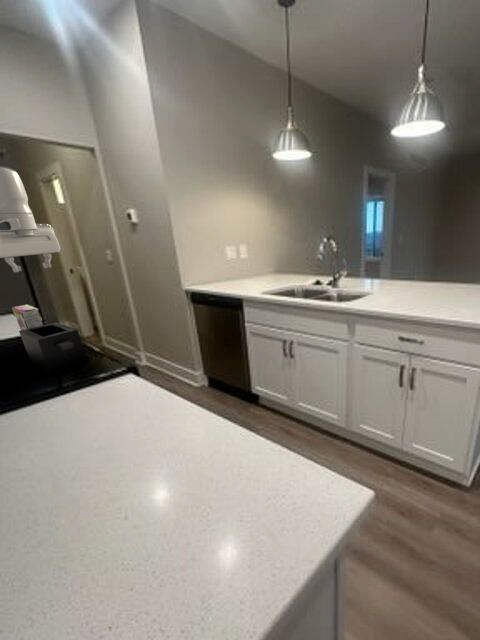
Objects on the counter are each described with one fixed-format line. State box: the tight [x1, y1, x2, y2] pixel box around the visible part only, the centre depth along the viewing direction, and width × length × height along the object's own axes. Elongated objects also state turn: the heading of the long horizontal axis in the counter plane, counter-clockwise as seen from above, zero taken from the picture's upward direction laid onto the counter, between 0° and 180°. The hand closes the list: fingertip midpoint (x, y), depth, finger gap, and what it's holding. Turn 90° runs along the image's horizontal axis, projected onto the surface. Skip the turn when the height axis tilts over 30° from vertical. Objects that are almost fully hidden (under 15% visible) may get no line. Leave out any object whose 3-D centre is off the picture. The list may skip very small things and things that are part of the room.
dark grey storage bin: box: [18, 322, 89, 376], centre depth 108 cm, size 10×17×11 cm, turn 52°
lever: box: [56, 341, 74, 350], centre depth 100 cm, size 3×4×1 cm
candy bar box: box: [11, 304, 45, 331], centre depth 116 cm, size 11×5×16 cm, turn 51°
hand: (33, 269), depth 112 cm, fingers open, 8 cm apart
